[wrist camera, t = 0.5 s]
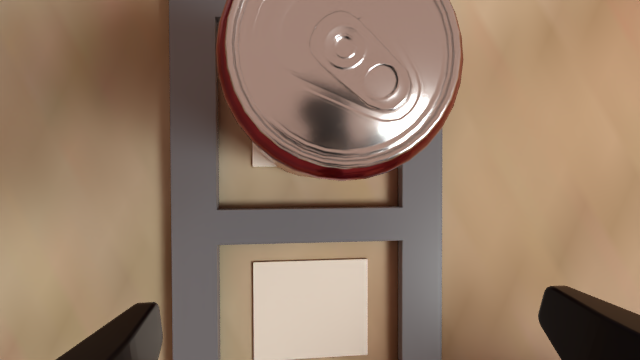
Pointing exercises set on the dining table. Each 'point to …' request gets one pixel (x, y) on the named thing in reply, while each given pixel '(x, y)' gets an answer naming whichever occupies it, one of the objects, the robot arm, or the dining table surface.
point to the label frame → (287, 233)
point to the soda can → (339, 80)
